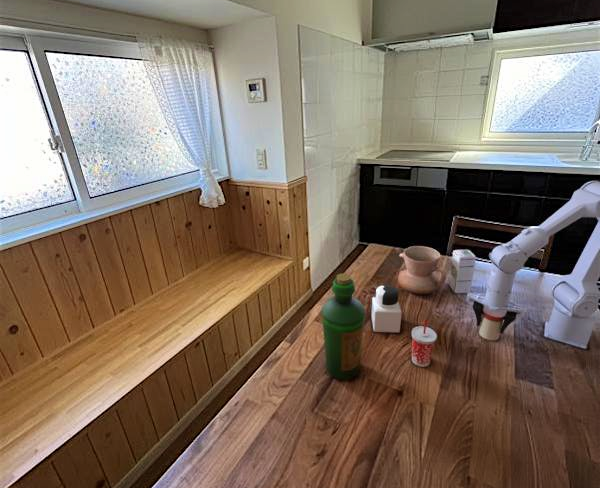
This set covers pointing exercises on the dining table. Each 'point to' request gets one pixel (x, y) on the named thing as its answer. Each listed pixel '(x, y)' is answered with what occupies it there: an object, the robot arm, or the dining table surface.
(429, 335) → the beverage cup
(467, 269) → the syrup box
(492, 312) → the jar lid
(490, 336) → the jam jar
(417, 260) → the ceramic jug
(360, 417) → the dining table surface
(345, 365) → the bottle
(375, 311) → the container
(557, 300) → the robot arm
